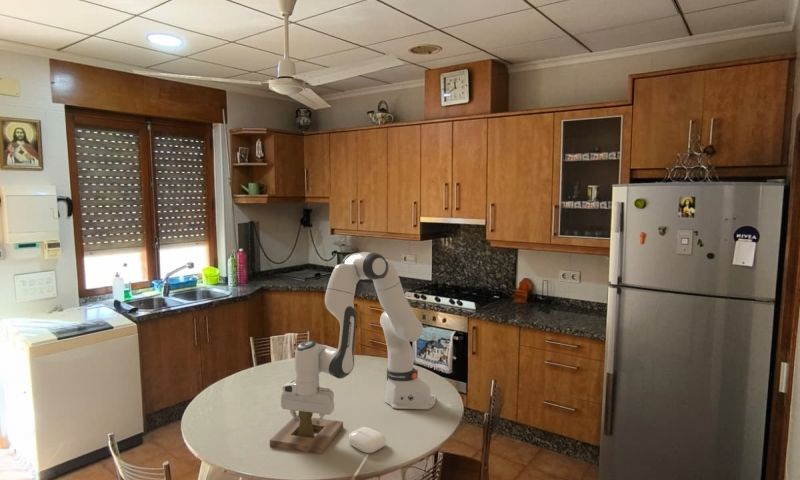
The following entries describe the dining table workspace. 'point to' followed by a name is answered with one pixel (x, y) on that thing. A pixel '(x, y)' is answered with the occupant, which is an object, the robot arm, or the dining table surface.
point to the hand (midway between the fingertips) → (307, 422)
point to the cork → (305, 424)
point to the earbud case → (367, 439)
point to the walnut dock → (305, 444)
